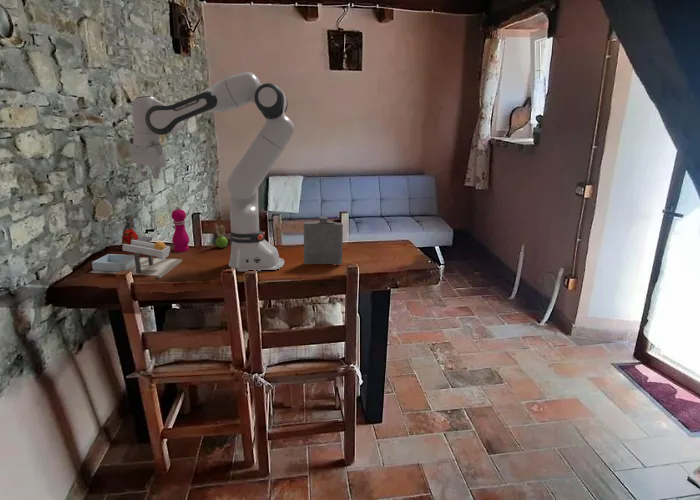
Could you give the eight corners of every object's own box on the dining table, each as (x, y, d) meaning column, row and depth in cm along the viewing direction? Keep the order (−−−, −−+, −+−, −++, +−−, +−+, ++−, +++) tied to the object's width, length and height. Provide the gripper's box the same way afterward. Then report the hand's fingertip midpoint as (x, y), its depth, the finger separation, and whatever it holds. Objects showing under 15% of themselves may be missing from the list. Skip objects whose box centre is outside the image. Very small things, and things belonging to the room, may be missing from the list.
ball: (166, 251, 172) (167, 241, 170) (161, 254, 168) (162, 244, 167) (156, 248, 172) (157, 239, 170) (151, 251, 168) (152, 241, 167)
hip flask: (303, 264, 184) (303, 217, 179) (304, 261, 188) (304, 215, 183) (341, 265, 185) (343, 218, 179) (342, 262, 188) (343, 216, 183)
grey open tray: (135, 263, 177) (134, 255, 176) (120, 272, 167) (119, 263, 166) (109, 262, 178) (108, 254, 177) (93, 271, 168) (91, 262, 167)
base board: (182, 261, 184) (180, 241, 182) (159, 278, 165) (157, 256, 163) (118, 258, 186) (116, 239, 183) (89, 275, 166) (85, 253, 164)
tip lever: (180, 247, 183) (181, 239, 182) (161, 260, 167) (161, 251, 166) (143, 241, 183) (143, 233, 182) (120, 253, 167) (120, 244, 166)
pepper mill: (184, 252, 196) (180, 208, 190) (169, 251, 197) (165, 207, 192) (193, 248, 203) (190, 205, 197) (179, 247, 204) (175, 204, 198)
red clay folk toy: (118, 249, 198) (114, 216, 193) (132, 246, 204) (129, 214, 199) (130, 252, 194) (126, 219, 190) (144, 248, 200) (140, 216, 196)
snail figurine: (212, 248, 203) (210, 223, 200) (220, 245, 209) (219, 220, 205) (221, 250, 201) (220, 224, 198) (230, 246, 207) (229, 221, 204)
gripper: (169, 142, 166) (171, 179, 170) (142, 138, 178) (145, 173, 182) (152, 142, 161) (155, 180, 165) (126, 138, 174) (129, 174, 178)
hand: (149, 177), depth 174 cm, fingers open, 8 cm apart
